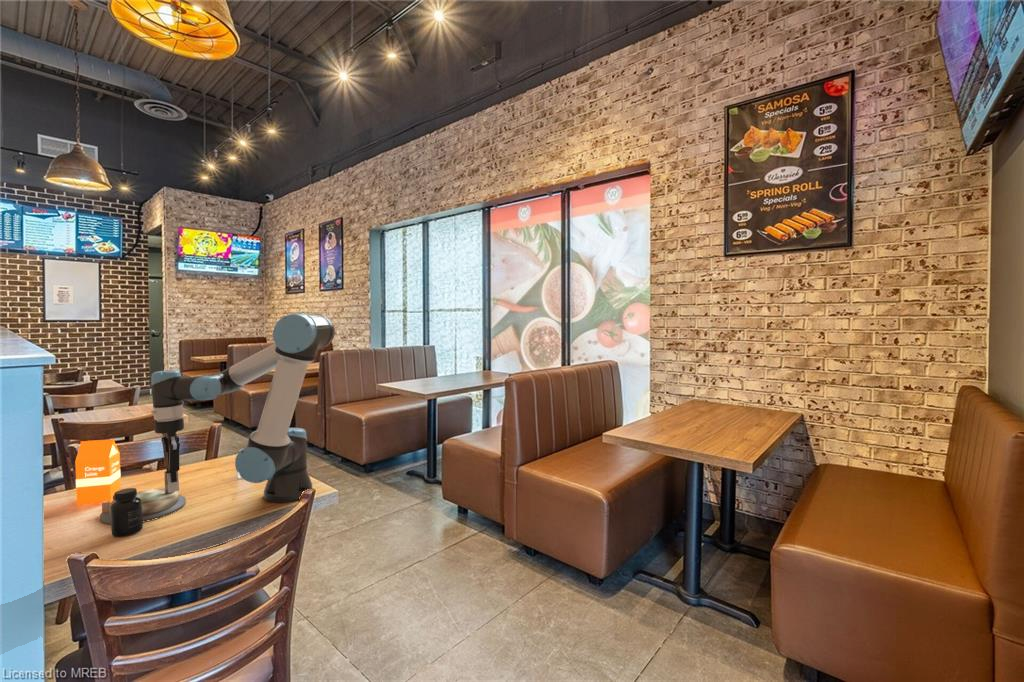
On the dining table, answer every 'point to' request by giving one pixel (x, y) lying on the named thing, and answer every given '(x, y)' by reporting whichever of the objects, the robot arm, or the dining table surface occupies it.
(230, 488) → the dining table surface
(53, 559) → the dining table surface
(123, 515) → the supplement bottle
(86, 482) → the orange juice
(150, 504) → the turntable
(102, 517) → the base
